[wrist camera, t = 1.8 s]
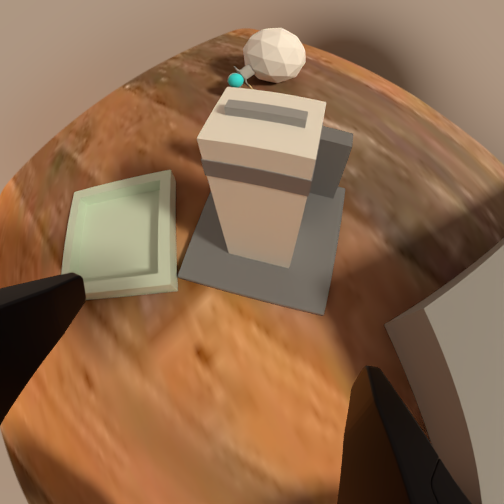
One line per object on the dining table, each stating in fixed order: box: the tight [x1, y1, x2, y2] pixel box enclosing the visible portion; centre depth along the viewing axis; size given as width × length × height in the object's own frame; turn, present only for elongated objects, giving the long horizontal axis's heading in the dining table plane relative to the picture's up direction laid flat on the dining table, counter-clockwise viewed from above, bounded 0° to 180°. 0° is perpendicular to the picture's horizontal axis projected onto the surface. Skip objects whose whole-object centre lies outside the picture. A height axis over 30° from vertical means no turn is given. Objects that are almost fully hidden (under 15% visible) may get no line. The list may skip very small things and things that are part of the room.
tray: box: [61, 170, 178, 300], centre depth 24 cm, size 11×11×2 cm
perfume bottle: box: [227, 28, 305, 89], centre depth 30 cm, size 8×8×12 cm
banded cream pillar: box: [197, 87, 326, 268], centre depth 17 cm, size 4×5×14 cm
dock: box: [178, 126, 353, 316], centre depth 21 cm, size 12×12×8 cm
